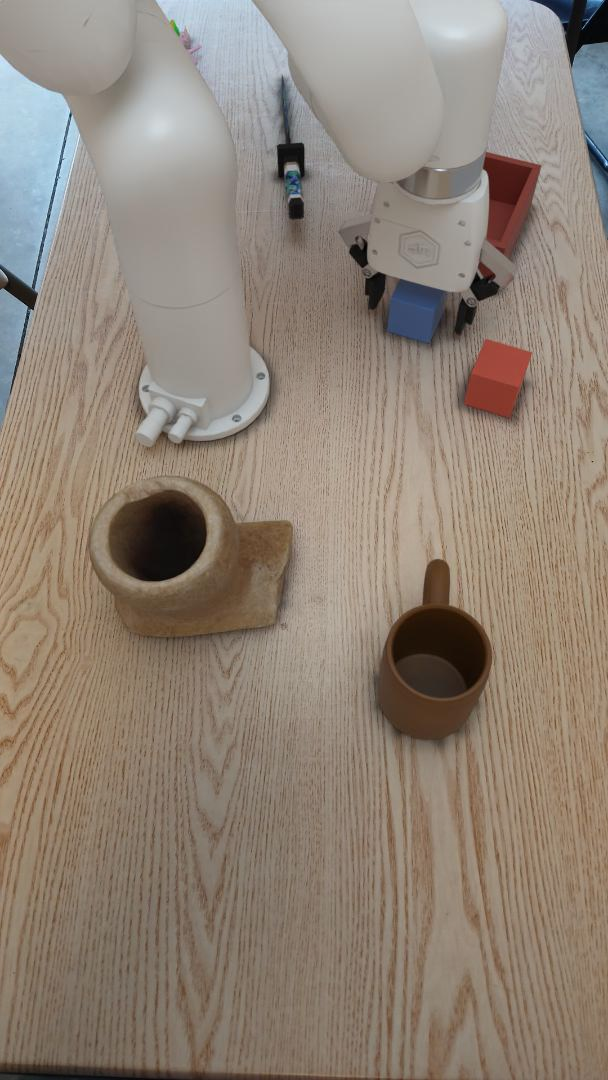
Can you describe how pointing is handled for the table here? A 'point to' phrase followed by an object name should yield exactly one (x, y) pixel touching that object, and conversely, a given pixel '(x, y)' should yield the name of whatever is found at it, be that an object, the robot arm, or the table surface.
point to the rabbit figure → (186, 41)
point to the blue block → (415, 310)
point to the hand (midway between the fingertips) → (418, 312)
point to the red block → (497, 378)
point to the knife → (291, 168)
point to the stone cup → (187, 560)
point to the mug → (433, 663)
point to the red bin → (508, 201)
